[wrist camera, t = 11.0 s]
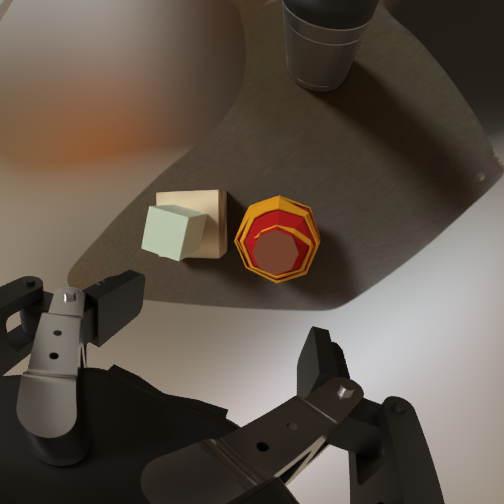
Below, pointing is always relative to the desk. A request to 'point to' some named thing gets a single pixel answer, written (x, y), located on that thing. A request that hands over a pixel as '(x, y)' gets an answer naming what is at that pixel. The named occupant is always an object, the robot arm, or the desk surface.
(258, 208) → the potion bottle
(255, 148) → the desk surface
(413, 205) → the desk surface
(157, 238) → the green block
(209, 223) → the beech base
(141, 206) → the desk surface
